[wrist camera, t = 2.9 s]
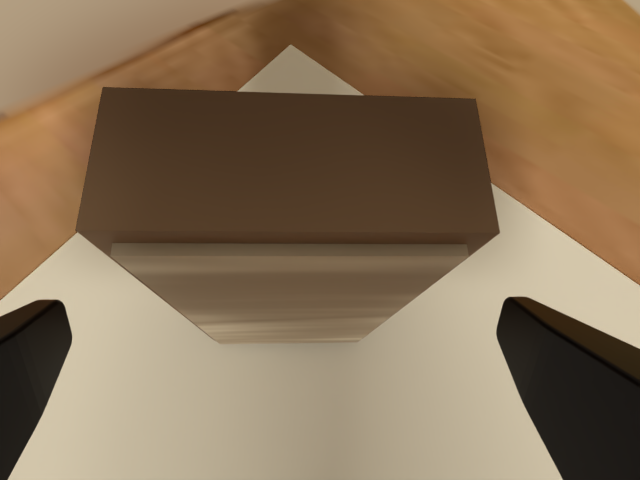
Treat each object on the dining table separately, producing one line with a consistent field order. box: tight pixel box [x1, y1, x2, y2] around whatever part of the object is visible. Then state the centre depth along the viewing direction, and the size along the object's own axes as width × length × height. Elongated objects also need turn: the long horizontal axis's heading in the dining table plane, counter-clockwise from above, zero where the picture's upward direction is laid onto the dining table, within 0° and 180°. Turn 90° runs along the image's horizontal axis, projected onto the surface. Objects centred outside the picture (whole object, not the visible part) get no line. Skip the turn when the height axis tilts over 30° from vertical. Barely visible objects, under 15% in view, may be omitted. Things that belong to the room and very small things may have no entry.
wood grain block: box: [75, 87, 500, 344], centre depth 12 cm, size 3×6×12 cm, turn 91°
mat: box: [0, 44, 640, 480], centre depth 16 cm, size 28×24×1 cm
